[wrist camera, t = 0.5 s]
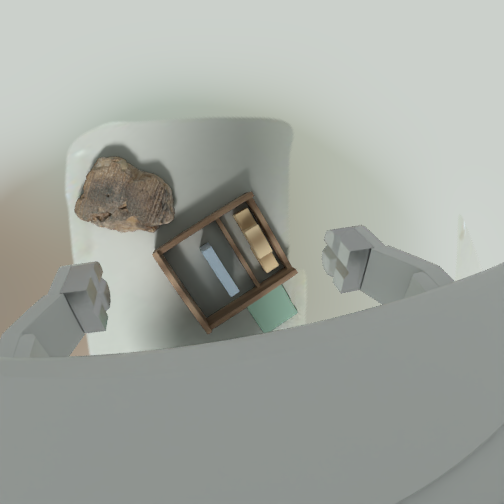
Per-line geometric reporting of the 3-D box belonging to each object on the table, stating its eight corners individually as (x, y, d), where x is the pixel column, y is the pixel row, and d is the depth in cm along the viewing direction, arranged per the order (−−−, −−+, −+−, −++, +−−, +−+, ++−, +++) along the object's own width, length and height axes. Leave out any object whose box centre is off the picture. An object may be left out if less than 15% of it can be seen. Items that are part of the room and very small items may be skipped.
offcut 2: (275, 263, 63) (279, 265, 61) (263, 270, 63) (267, 273, 61) (261, 239, 62) (265, 241, 60) (249, 247, 62) (252, 249, 59)
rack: (289, 268, 64) (299, 274, 59) (205, 324, 61) (208, 334, 56) (246, 192, 59) (253, 191, 54) (154, 250, 56) (152, 254, 51)
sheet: (233, 282, 62) (239, 291, 55) (225, 287, 61) (230, 297, 55) (207, 242, 59) (211, 246, 52) (199, 247, 59) (202, 252, 52)
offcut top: (269, 249, 60) (272, 250, 58) (256, 256, 60) (259, 259, 57) (254, 223, 59) (258, 224, 56) (242, 231, 58) (244, 232, 56)
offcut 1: (258, 232, 62) (262, 233, 59) (246, 240, 61) (249, 241, 59) (244, 207, 60) (247, 207, 58) (232, 215, 60) (234, 215, 57)
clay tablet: (187, 184, 57) (100, 151, 51) (188, 182, 52) (93, 147, 46) (162, 249, 58) (76, 215, 52) (160, 253, 53) (68, 217, 47)
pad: (297, 312, 66) (297, 312, 66) (264, 334, 65) (265, 334, 65) (278, 281, 64) (279, 281, 64) (244, 304, 63) (244, 304, 62)
